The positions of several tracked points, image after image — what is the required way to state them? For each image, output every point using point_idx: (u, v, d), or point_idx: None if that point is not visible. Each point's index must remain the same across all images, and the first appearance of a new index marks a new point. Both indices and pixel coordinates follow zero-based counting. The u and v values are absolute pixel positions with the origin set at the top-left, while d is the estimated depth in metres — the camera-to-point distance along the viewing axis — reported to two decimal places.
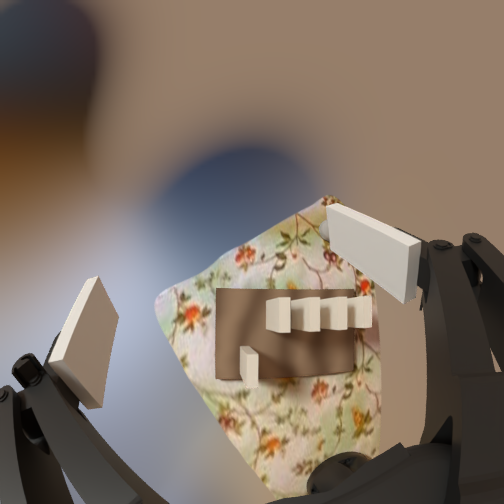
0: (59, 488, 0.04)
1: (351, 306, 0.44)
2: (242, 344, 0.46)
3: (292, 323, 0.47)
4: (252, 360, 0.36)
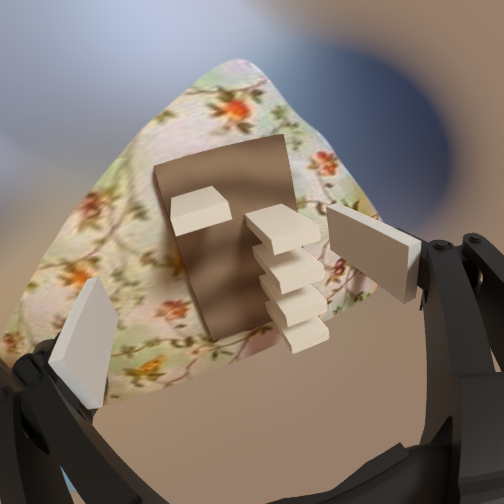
0: (59, 488, 0.04)
1: None
2: (215, 188, 0.32)
3: (260, 247, 0.35)
4: (220, 213, 0.23)
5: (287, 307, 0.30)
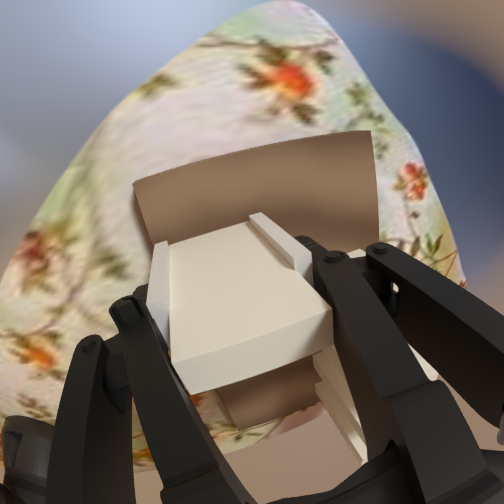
0: (123, 452, 0.06)
1: None
2: None
3: None
4: (308, 337, 0.08)
5: None
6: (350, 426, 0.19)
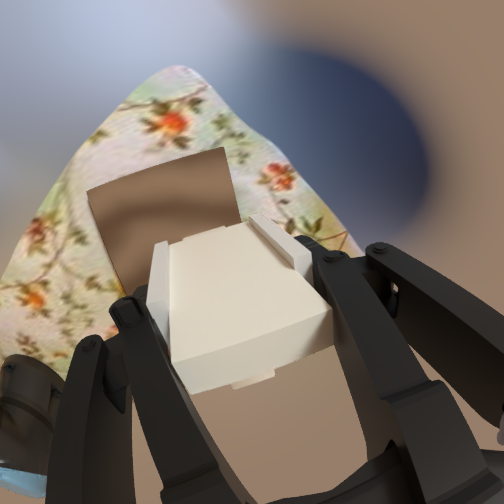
0: (123, 452, 0.06)
1: None
2: (149, 212, 0.29)
3: None
4: (308, 337, 0.08)
5: None
6: None
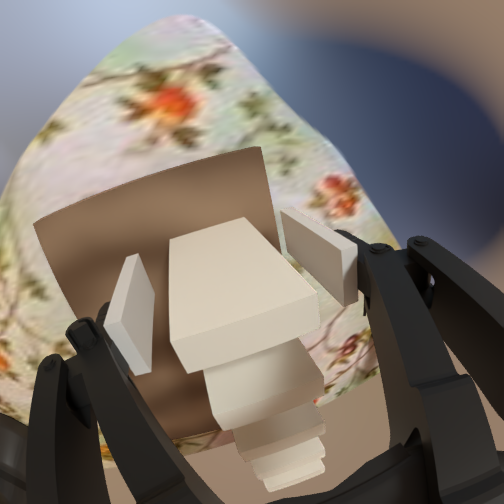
0: (93, 465, 0.05)
1: None
2: None
3: None
4: (296, 320, 0.09)
5: None
6: None
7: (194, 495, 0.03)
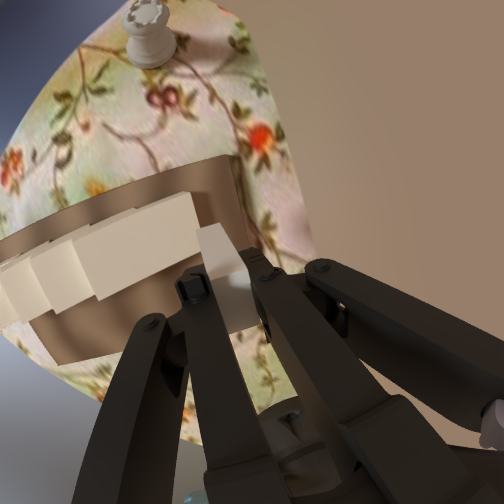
0: (170, 438, 0.06)
1: None
2: (58, 316, 0.23)
3: None
4: None
5: None
6: None
7: (277, 472, 0.03)
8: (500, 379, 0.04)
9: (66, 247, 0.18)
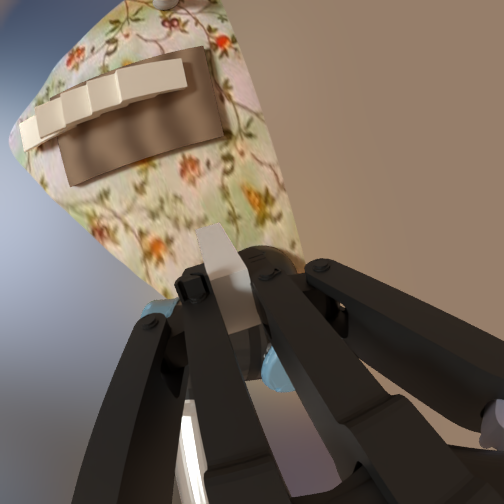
0: (170, 438, 0.06)
1: None
2: (84, 140, 0.34)
3: None
4: None
5: None
6: None
7: (277, 472, 0.03)
8: (500, 379, 0.04)
9: (110, 77, 0.29)
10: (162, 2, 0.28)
